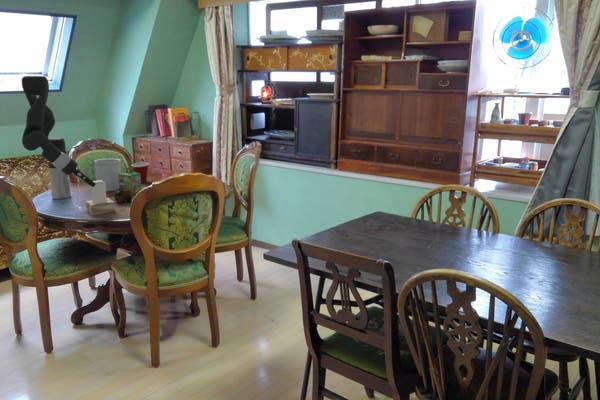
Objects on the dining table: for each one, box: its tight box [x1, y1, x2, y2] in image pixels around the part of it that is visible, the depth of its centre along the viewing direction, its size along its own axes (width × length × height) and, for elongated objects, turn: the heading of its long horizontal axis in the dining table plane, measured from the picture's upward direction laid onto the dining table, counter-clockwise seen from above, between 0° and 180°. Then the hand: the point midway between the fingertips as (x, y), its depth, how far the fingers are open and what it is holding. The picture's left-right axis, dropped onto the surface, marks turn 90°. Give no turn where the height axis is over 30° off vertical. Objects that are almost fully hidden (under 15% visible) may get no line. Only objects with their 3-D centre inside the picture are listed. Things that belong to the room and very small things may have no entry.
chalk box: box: [118, 167, 142, 195], centre depth 288 cm, size 9×9×15 cm
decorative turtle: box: [113, 188, 134, 205], centre depth 268 cm, size 10×15×8 cm, turn 47°
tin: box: [90, 180, 108, 203], centre depth 248 cm, size 6×6×10 cm
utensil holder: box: [94, 157, 122, 192], centre depth 299 cm, size 15×15×18 cm
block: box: [85, 197, 116, 216], centre depth 250 cm, size 11×11×5 cm
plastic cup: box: [131, 161, 150, 183], centre depth 319 cm, size 11×11×12 cm
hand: (92, 184), depth 245 cm, fingers open, 8 cm apart
